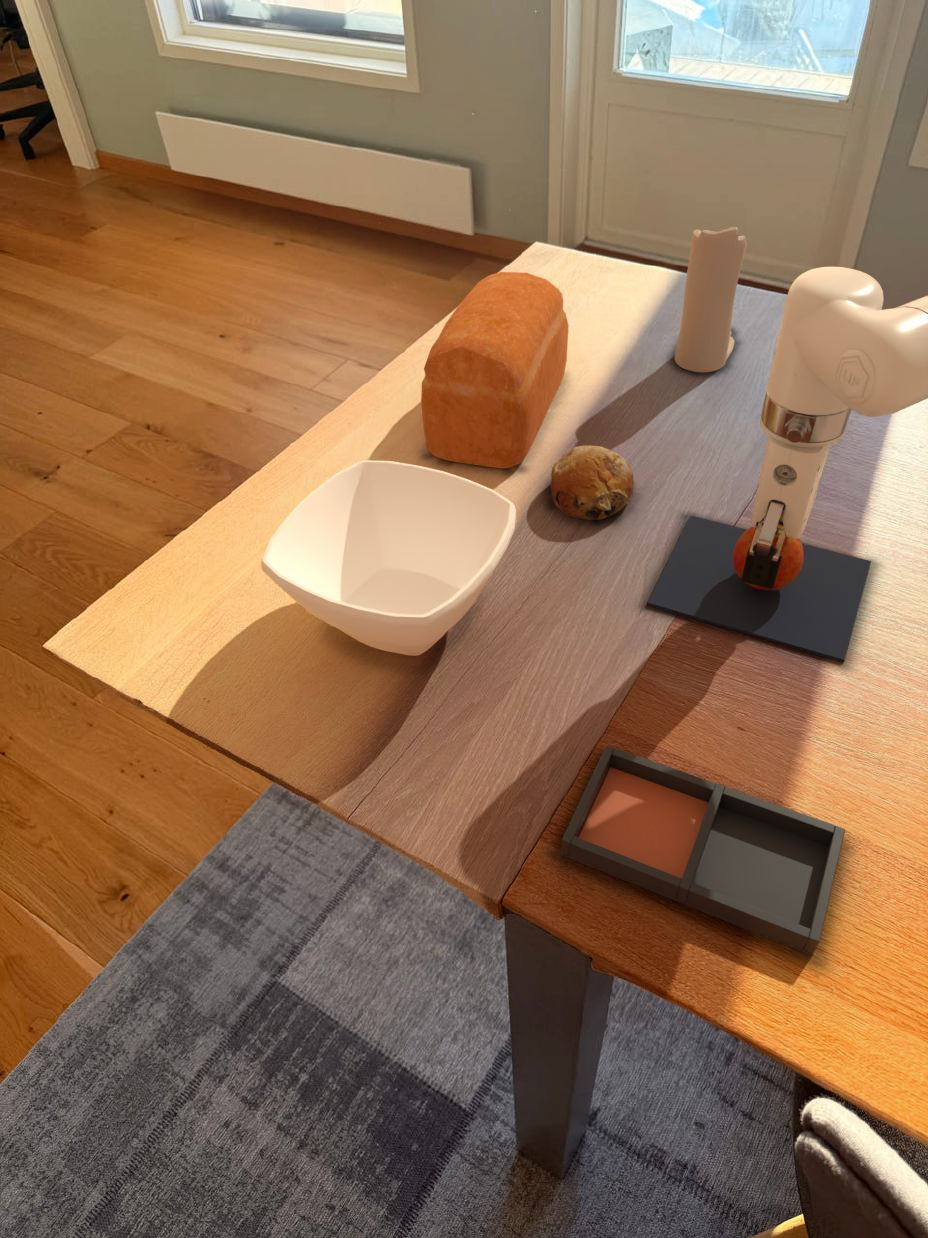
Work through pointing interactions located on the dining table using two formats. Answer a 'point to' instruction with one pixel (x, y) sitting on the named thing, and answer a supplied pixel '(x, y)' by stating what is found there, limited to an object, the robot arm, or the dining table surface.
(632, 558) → the dining table surface
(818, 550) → the mat
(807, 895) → the tray
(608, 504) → the bread roll
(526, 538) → the dining table surface
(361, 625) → the bowl
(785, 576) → the fruit
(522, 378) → the bread
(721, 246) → the candle
